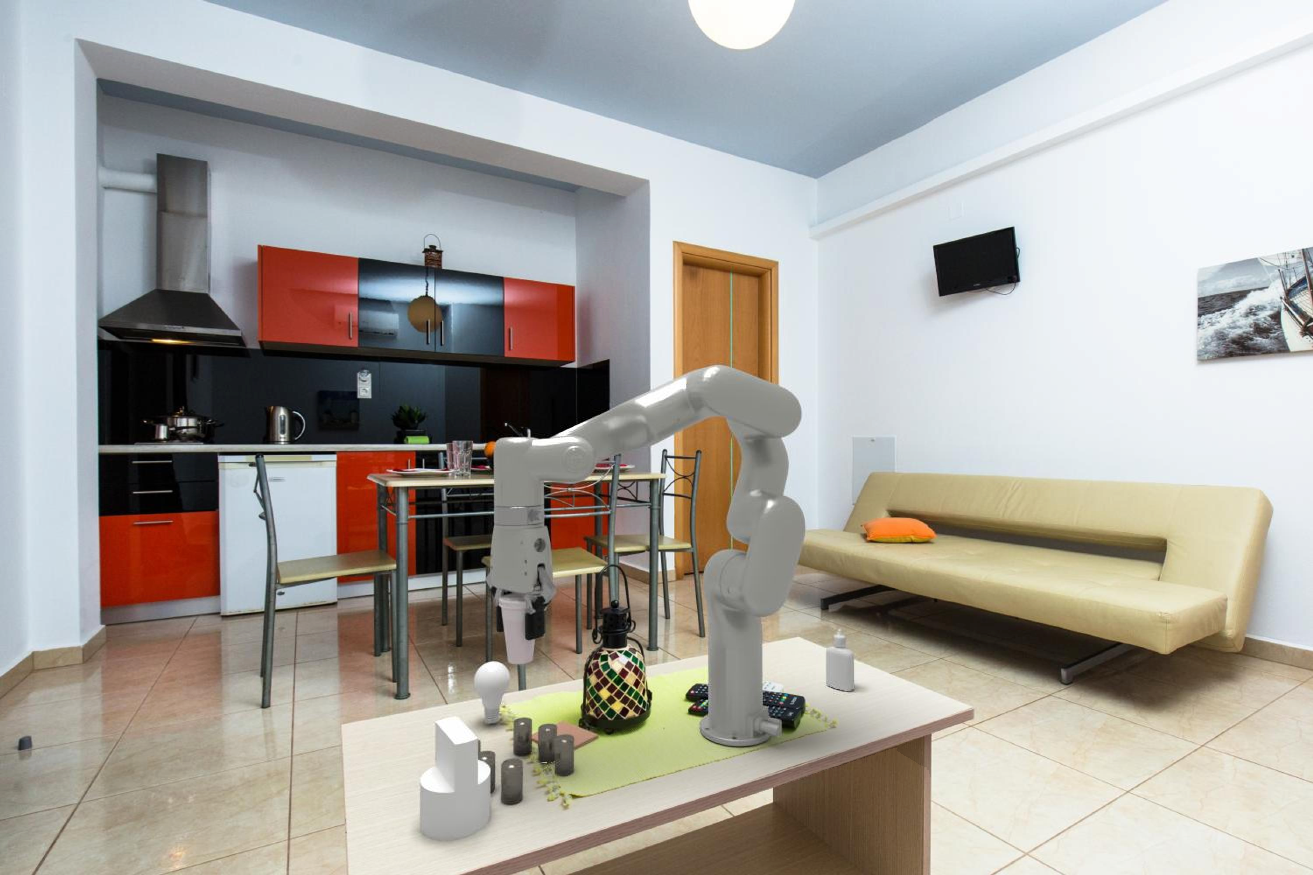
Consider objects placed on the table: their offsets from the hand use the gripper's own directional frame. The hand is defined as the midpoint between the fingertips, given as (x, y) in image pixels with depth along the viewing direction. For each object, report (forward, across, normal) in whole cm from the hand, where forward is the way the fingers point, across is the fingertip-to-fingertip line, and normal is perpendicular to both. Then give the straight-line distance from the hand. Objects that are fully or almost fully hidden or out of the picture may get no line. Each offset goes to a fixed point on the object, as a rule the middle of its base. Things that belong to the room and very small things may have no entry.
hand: (520, 632), depth 98 cm
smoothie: (+4, 0, 0) cm, 4 cm away
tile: (+21, +4, -12) cm, 25 cm away
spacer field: (+21, 0, 0) cm, 21 cm away
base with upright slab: (+21, -3, +13) cm, 26 cm away
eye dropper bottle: (+22, -24, -64) cm, 72 cm away
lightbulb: (+21, +18, -8) cm, 29 cm away
